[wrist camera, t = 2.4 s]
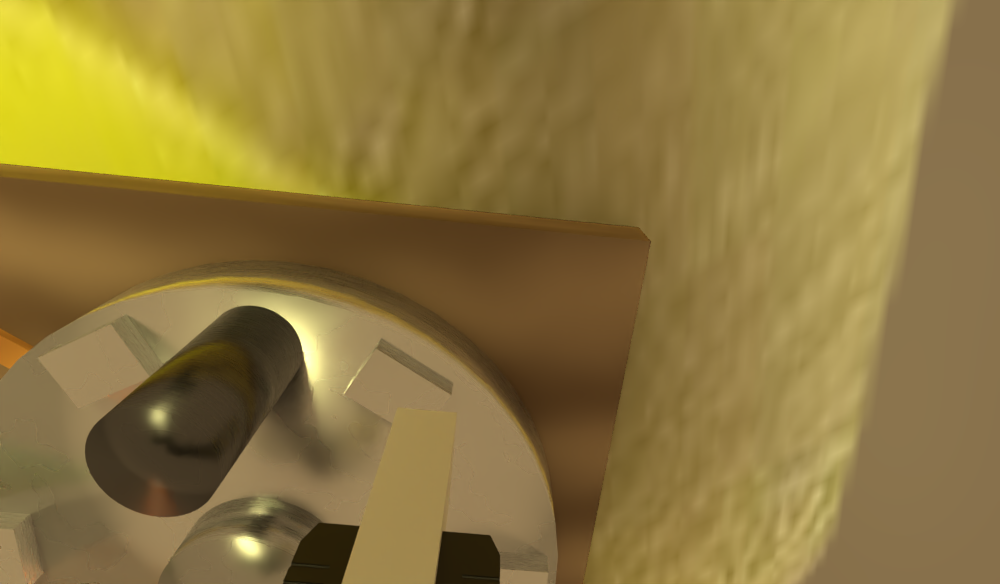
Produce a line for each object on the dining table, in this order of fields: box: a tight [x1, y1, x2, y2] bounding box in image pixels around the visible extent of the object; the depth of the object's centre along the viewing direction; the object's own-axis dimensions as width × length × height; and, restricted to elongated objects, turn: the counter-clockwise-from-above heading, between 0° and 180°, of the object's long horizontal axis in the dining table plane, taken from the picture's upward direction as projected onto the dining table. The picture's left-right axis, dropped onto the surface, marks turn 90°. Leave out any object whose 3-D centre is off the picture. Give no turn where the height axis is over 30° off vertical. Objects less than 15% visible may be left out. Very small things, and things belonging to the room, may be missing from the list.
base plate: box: [0, 164, 651, 584], centre depth 26 cm, size 26×26×2 cm
